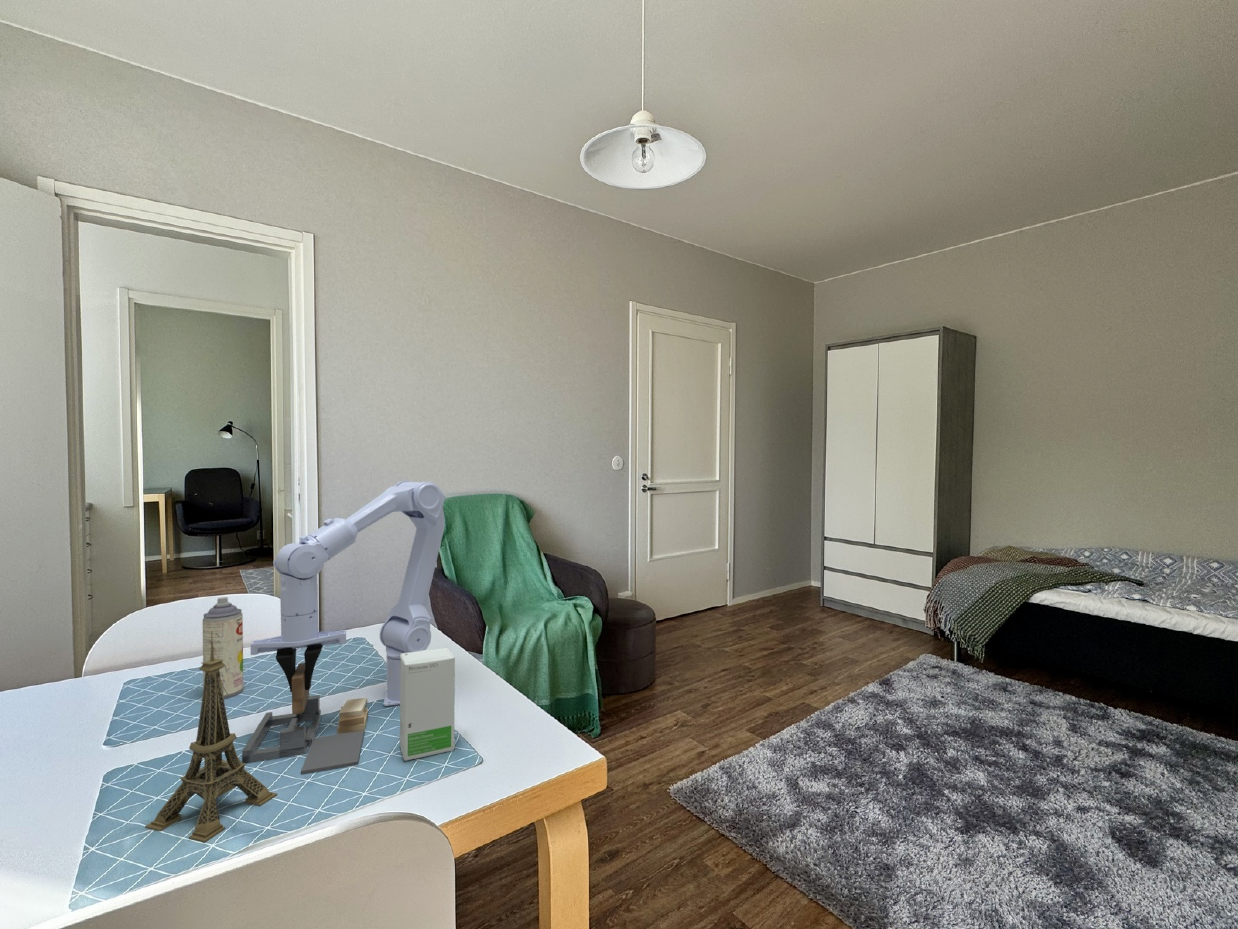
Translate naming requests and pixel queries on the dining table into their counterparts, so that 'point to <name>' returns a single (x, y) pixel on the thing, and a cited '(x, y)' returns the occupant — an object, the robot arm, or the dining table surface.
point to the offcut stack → (353, 716)
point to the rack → (285, 734)
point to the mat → (333, 752)
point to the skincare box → (427, 702)
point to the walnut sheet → (299, 690)
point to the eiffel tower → (211, 764)
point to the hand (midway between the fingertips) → (300, 689)
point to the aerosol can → (225, 644)
